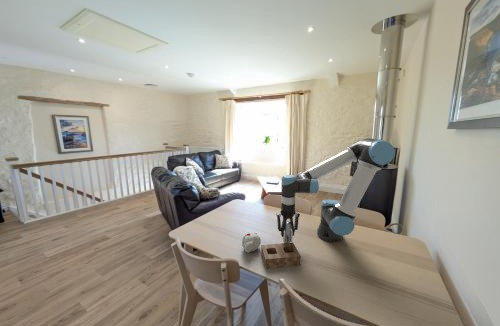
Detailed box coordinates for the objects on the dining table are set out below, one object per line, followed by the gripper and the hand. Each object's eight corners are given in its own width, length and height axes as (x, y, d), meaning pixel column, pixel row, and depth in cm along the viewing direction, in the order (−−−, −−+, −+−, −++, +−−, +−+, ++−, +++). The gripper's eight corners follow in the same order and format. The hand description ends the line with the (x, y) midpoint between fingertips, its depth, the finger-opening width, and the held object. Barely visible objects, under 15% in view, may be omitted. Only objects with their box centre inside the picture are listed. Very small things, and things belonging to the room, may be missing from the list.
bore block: (292, 250, 114) (293, 242, 113) (300, 264, 102) (300, 256, 101) (261, 253, 112) (261, 245, 111) (265, 268, 100) (265, 259, 99)
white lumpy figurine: (246, 257, 108) (238, 245, 122) (265, 252, 112) (255, 241, 126) (245, 241, 107) (237, 230, 121) (264, 236, 111) (254, 227, 125)
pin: (289, 244, 120) (289, 221, 117) (291, 248, 116) (291, 224, 113) (283, 245, 119) (283, 221, 116) (285, 248, 116) (285, 224, 113)
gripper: (300, 199, 117) (299, 236, 122) (272, 201, 115) (271, 238, 120) (305, 204, 110) (303, 243, 114) (275, 206, 108) (274, 246, 112)
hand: (287, 241), depth 117 cm, fingers closed on pin, 3 cm apart
